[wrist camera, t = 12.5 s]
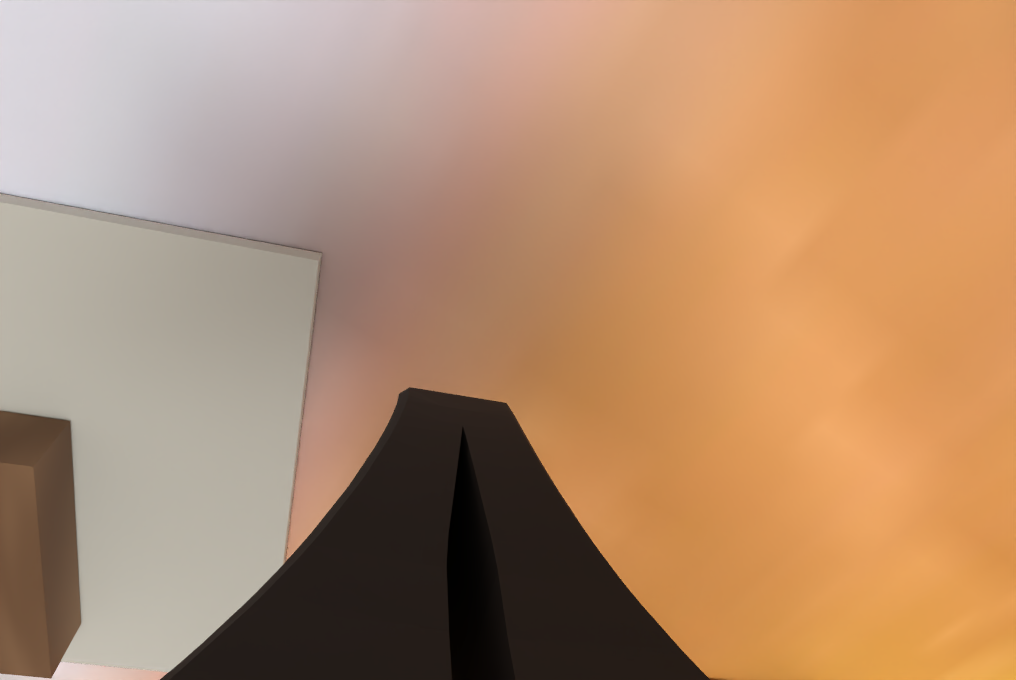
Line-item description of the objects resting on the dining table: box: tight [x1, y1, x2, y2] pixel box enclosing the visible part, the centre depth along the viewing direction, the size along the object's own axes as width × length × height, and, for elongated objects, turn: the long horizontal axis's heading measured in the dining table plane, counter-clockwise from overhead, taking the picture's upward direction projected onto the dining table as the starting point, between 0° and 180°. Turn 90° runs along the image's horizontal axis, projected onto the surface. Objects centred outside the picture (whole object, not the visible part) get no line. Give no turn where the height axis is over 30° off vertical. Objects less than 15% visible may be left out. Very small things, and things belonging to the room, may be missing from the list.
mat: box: [0, 194, 322, 672], centre depth 21 cm, size 16×16×1 cm
